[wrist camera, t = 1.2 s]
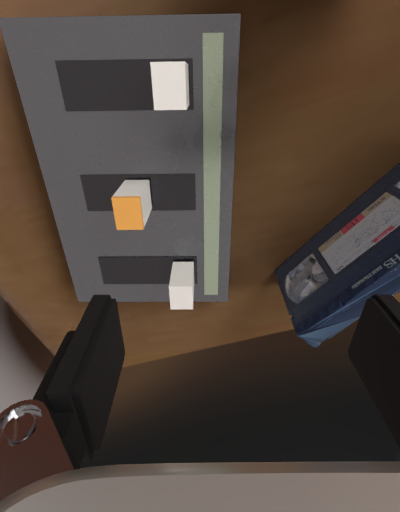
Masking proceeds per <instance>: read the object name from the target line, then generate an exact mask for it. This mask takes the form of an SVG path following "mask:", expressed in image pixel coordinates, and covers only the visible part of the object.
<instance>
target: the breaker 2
mask: <svg viewBox="0 0 400 512" xmlns="http://www.w3.org/2000/svg"><path fill="white" fill-rule="evenodd" d="M169 296H170V308H171V309H193V300H194V262H173V265H172V271H171V276H170V282H169Z"/></svg>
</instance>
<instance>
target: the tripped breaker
mask: <svg viewBox="0 0 400 512" xmlns="http://www.w3.org/2000/svg"><path fill="white" fill-rule="evenodd" d="M111 200H112V206H113V211H114V217H115V223H116V229H117V230H143V229H144V227H145V224H146V222H147V219H148V217H149V215H150V212H151V210H152V203H151V193H150V183H149V180H125V181H124V182H123V183H122V185H121V186H120V187H119V188H118V190H117V191H116V192H115V194H114V195H113V196H112V197H111Z"/></svg>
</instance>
